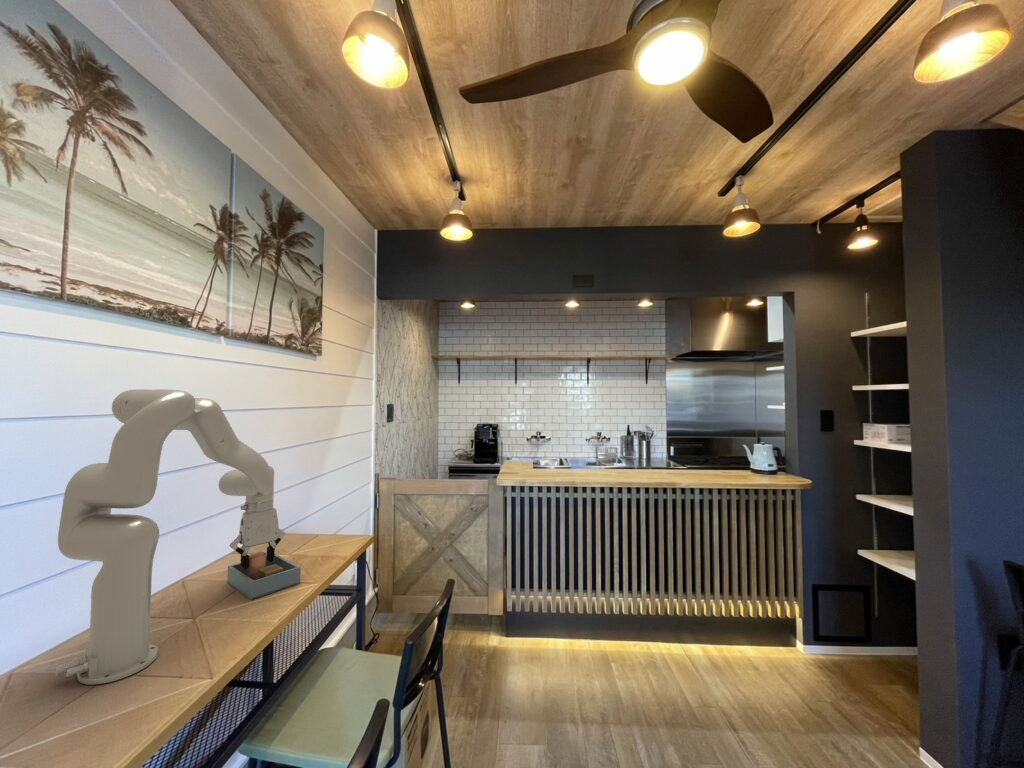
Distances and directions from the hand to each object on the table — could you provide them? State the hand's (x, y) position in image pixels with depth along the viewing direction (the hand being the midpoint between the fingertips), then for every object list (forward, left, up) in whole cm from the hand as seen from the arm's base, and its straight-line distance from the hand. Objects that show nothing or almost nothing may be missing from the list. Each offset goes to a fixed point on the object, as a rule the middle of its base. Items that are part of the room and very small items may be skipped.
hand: (257, 563), depth 133 cm
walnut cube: (0, -9, -4) cm, 10 cm away
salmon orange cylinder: (0, 0, -4) cm, 4 cm away
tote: (0, -4, -5) cm, 7 cm away
